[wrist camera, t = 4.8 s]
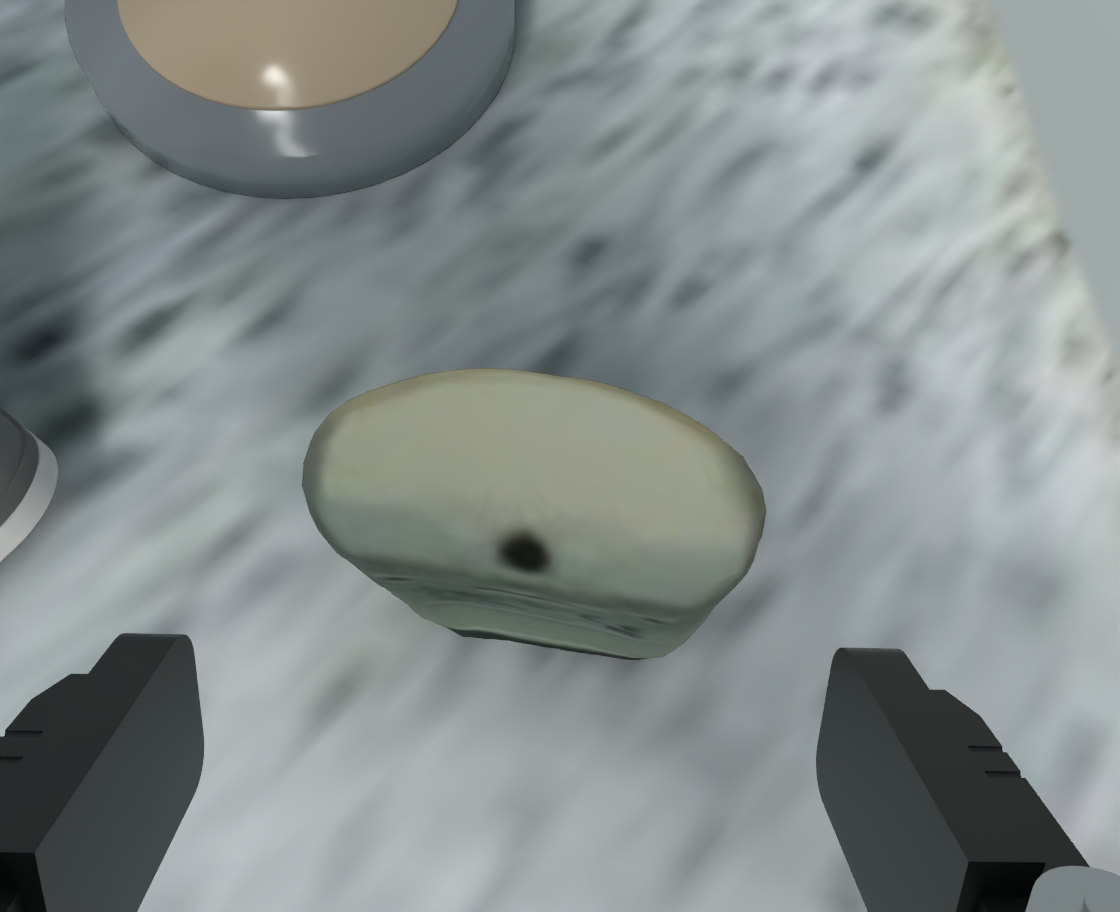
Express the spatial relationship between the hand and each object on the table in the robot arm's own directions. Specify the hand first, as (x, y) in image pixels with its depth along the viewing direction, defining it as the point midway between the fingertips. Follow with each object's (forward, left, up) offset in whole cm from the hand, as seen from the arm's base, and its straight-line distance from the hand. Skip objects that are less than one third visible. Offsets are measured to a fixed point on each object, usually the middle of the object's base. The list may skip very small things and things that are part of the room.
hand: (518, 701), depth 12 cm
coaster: (-3, +19, -6) cm, 20 cm away
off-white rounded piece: (+1, +3, -7) cm, 7 cm away
